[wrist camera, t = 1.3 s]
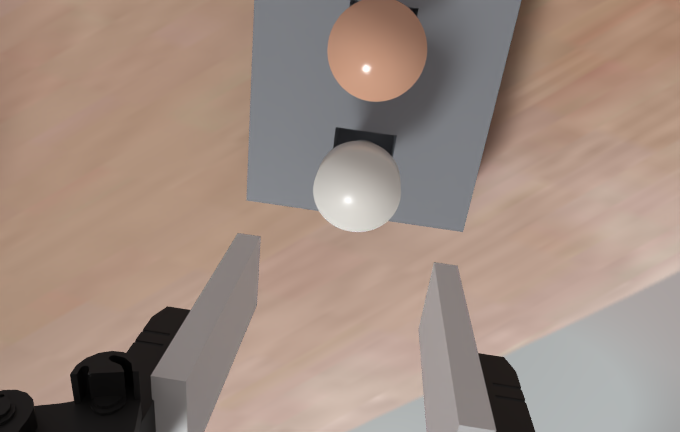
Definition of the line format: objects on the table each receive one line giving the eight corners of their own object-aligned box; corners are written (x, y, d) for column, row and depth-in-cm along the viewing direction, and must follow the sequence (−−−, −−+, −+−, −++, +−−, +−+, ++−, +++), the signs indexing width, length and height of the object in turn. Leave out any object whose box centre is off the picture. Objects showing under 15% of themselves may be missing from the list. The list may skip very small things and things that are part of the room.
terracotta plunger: (334, 75, 27) (322, 94, 22) (343, -11, 25) (333, -10, 20) (412, 85, 27) (417, 107, 22) (427, 0, 25) (436, 4, 20)
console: (262, 176, 33) (246, 200, 30) (281, -196, 25) (263, -226, 21) (455, 204, 33) (462, 231, 29) (543, -165, 24) (569, -191, 21)
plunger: (322, 186, 29) (309, 225, 25) (330, 117, 28) (317, 144, 23) (392, 196, 29) (393, 237, 25) (405, 127, 28) (408, 157, 23)
